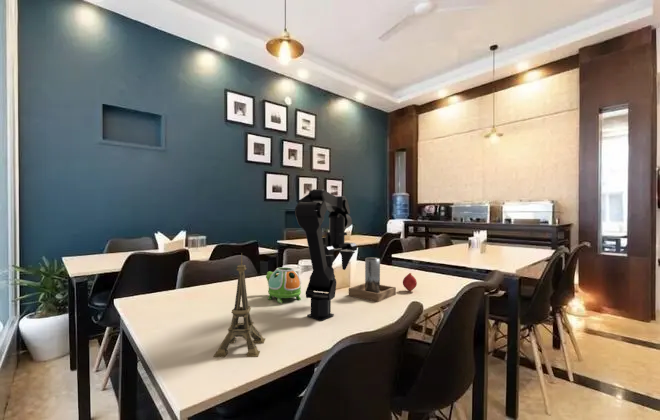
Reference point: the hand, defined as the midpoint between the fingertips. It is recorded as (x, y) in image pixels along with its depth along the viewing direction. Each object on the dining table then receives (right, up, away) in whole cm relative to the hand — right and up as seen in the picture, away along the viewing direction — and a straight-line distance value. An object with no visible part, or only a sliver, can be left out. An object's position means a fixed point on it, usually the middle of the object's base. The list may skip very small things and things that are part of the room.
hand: (336, 271), depth 121 cm
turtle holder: (-21, -12, +7) cm, 26 cm away
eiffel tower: (-25, -12, -39) cm, 48 cm away
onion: (+32, -12, +19) cm, 39 cm away
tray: (+15, -12, +12) cm, 23 cm away
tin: (+15, -11, +12) cm, 22 cm away
